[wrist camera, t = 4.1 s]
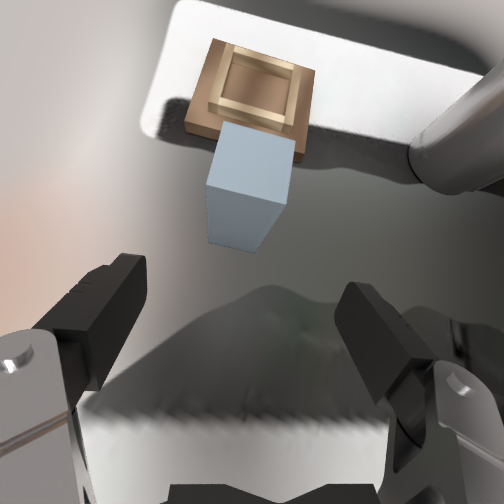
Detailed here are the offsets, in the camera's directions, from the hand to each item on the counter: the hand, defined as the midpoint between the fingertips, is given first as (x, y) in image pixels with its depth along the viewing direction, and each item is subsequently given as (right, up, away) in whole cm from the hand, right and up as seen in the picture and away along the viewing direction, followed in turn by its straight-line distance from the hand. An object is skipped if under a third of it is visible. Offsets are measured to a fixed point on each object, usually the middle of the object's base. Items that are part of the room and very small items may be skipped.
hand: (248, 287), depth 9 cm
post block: (-1, +4, +14) cm, 14 cm away
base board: (0, +19, +19) cm, 27 cm away
